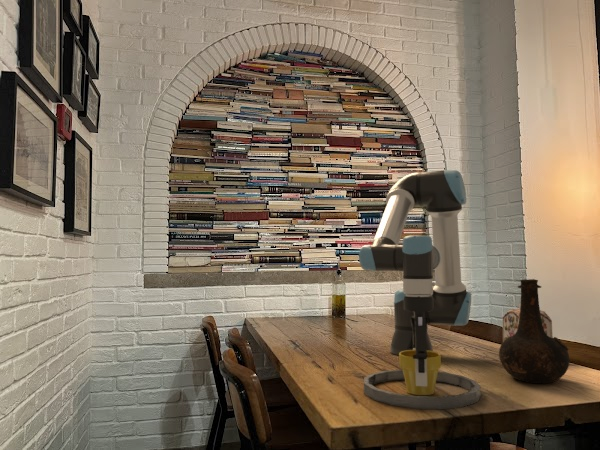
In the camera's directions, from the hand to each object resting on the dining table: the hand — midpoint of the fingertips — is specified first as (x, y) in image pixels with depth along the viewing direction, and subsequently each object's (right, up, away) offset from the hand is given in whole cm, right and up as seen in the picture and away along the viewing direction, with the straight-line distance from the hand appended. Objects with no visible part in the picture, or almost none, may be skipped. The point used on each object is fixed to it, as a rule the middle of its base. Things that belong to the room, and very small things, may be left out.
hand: (419, 379), depth 126 cm
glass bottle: (+35, -4, +12) cm, 37 cm away
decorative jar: (+48, -6, +44) cm, 65 cm away
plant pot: (0, -3, 0) cm, 3 cm away
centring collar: (0, -3, 0) cm, 3 cm away
